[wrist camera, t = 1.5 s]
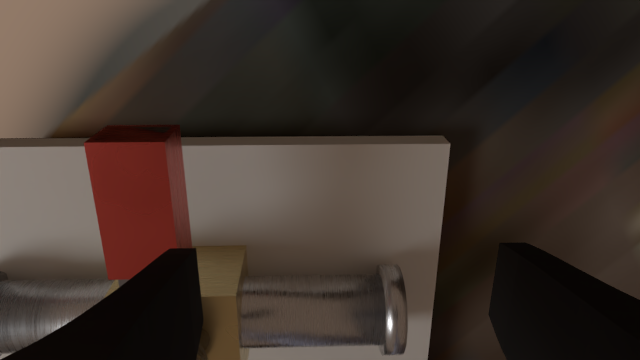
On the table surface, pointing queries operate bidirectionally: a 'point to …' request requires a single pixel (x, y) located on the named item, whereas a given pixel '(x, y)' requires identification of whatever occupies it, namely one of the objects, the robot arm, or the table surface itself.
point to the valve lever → (139, 196)
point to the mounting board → (252, 214)
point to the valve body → (234, 307)
